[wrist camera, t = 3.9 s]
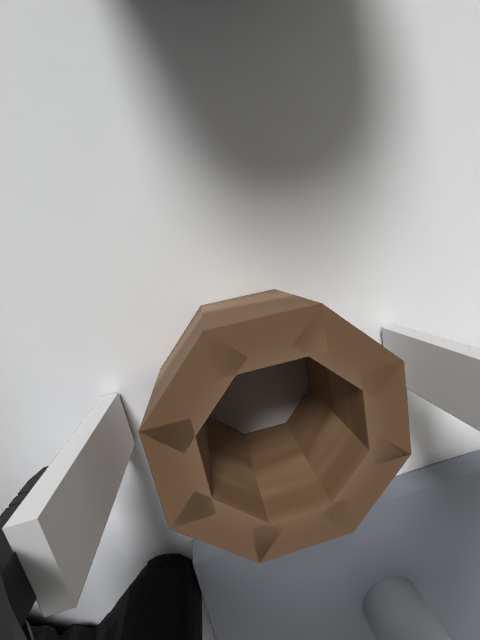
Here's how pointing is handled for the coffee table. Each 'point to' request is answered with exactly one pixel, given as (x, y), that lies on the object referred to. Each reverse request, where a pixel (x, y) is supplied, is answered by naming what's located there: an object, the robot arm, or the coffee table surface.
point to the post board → (364, 571)
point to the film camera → (148, 607)
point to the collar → (275, 428)
